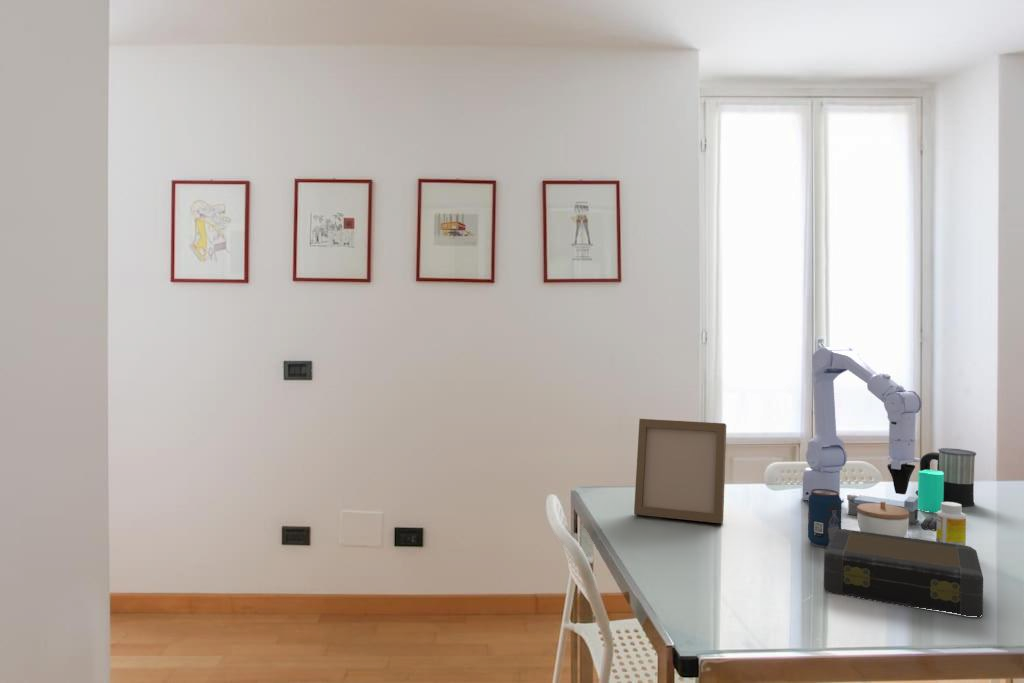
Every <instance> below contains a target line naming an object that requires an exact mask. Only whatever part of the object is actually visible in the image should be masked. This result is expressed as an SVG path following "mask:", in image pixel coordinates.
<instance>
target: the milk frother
mask: <svg viewBox="0 0 1024 683" xmlns="http://www.w3.org/2000/svg"><path fill="white" fill-rule="evenodd" d="M937 451H938V452H935V451H933V452H927V453H925V454H924V455H923V456H922V457H921V458H920V463H919V469H920V470H919V471H923V470H931V462H932V460H934V461H937V465H936V466H937V469H936V471H943V473H944V499H943V502H954V503H958V504H961V505H962V507H971V506H975V501H974V500H975V499H974V497H975V496H974V493H975V491H974V485H975V484H974V481H975V457H976V455H977V452H976V451H972V450H967V449H961V448H949V447H947V448H946V447H945V448H944V447H941V448H938V449H937ZM915 494H916V497H918V489H917V490H916V491H915Z"/></svg>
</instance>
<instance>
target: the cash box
mask: <svg viewBox="0 0 1024 683" xmlns="http://www.w3.org/2000/svg"><path fill="white" fill-rule="evenodd" d="M823 559H824V560H823V562H824V564H823V589H824V590H825V591H826V592H827V591H828V592H827V593H830V592H831V594H834V593H835V594H836V595H840V594H841V596H845V595H847V596H846V597H851V596H853V597H852V598H857V597H860V598H859V599H862V598H864V599H863V600H868V599H871V600H870V601H874V600H876V601H875V602H879V601H881V602H880V603H885V602H886V603H885V604H891V603H892V604H891V605H896V604H898V605H897V606H902V605H904V606H903V607H908V606H911V607H910V608H913V607H919V608H926V609H932V610H939V611H946V612H952V613H957V614H961V615H966V616H977V617H980V616H981V615H982V616H983V613H984V609H983V608H984V607H983V606H984V576H983V572H982V568H981V563H980V560H979V555H978V553H977V550H976V549H975V548H973V547H972V546H969V545H966V546H965V545H957V544H950V543H943V542H936V541H934V540H926V539H921V538H912V537H906V536H905V537H898V536H891V535H883V534H876V533H869V532H861V531H860V530H854V529H846V528H841V529H838V530H835V531H834V532H833V535H832V537H831V539H830V542H829V544H828V546H827V548H825V552H824V555H823ZM835 594H834V595H835ZM919 608H918V609H919ZM982 616H981V617H982ZM981 617H980V618H981Z"/></svg>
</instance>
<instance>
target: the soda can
mask: <svg viewBox="0 0 1024 683" xmlns="http://www.w3.org/2000/svg"><path fill="white" fill-rule="evenodd" d="M811 492H812V493H811V494H810V496H809V499H808V502H807V504H808V509H807V510H808V511H807V516H808V518H807V538H808V540H809V541H810V543H811V545H813V546H815V547H820V548H825V549H827V546H828V544H829V542H830V539H831V537H832V535H833V532H834V531H835V530H838V529H842V504H843V503H842V502H843V501H841V499H840V498H841V496H840V497H839V493H838V492H837V491H833V490H828V489H813V490H812V491H811Z"/></svg>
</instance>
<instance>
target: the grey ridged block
mask: <svg viewBox="0 0 1024 683" xmlns="http://www.w3.org/2000/svg"><path fill="white" fill-rule="evenodd" d="M920 527H921V528H922V529H924V528H927V529H929V530H931V529H935V530H936V528H937V515H936V516H933V515H927V516H926V517H925V519H924V520H922V522H921V524H920Z"/></svg>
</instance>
